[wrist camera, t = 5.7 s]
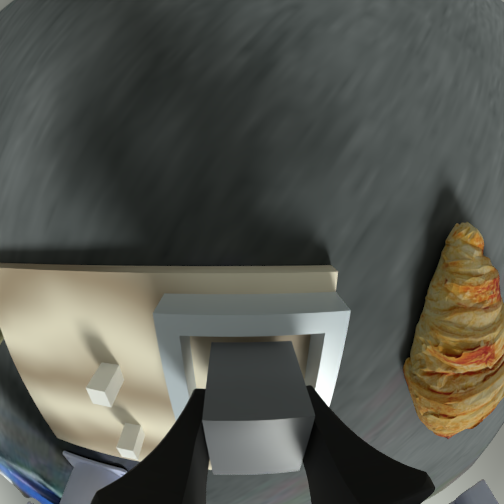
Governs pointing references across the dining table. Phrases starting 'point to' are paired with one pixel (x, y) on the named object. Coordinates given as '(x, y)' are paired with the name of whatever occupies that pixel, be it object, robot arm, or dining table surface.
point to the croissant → (458, 339)
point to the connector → (256, 408)
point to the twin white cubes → (104, 393)
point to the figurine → (1, 336)
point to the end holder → (250, 332)
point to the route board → (121, 337)
